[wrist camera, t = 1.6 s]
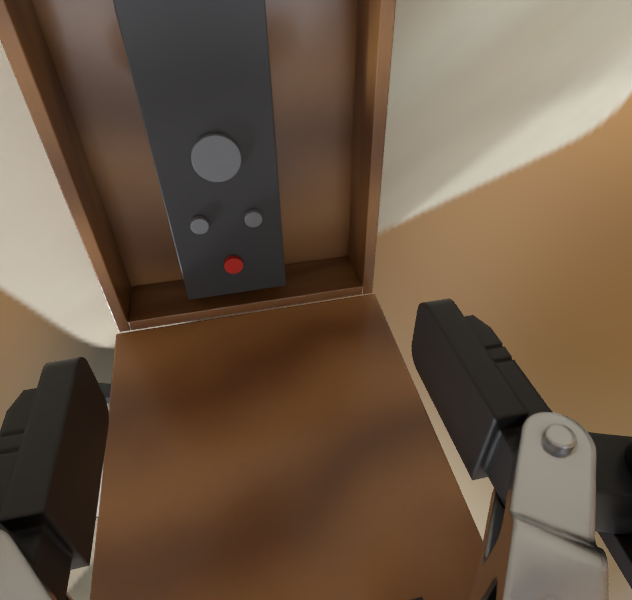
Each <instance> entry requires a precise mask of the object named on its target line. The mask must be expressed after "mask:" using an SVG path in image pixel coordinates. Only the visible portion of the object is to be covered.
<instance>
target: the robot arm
mask: <svg viewBox="0 0 632 600" xmlns="http://www.w3.org/2000/svg"><path fill="white" fill-rule="evenodd" d="M412 356H413V361H414V364H415V367H416V369H417V371H418V373H419V375H420V377H421V379H422V381H423V383H424V385H425V387H426V389H427V391H428V393H429V395H430V397H431V399H432V401H433V403H434V405H435V407H436V409H437V411H438V413H439V415H440V417H441V419H442V421H443V423H444V425H445V427H446V429H447V431H448V433H449V435H450V437H451V439H452V441H453V443H454V445H455V447H456V449H457V451H458V453H459V454H460V457H461V459H462V461H463V463H464V464H465V467H466V468H467V471H468V473H469V475H470V477H471V479H472V480H476V479H480V478H485V477H489V479H490V481H491V483H492V485H493V486H494V490H493V492H492V497H491V502H490V508H489V513H488V519H487V523H486V529H485V535H484V539H483V545H482V550H481V555H480V561H479V566H478V570H477V574H476V578H475V581H474V584H473V587H472V590H471V594H470V598H469V600H608V562H607V557H606V554H605V552H604V550H603V549H601V548H599V547H597V545H596V542H595V531H597V532H598V533H599V535H600V536H601V538H602V540H603V541H604V543H605V545H606V547H607V548H608V550H609V552H610V553H611V555H612V557H613V558H614V560H615V562H616V563H617V565H618V567H619V568H620V570H621V572H622V573H623V575H624V577H625V578H626V580H627V582H628V583H629V585H630V587H631V588H632V437H628V436H618V435H607V434H598V433H591V432H587V431H586V430H585V429H584V428H583V427H582V426H581V425H579V424H578V423H577V422H575V421H574V420H572V419H570V418H568V417H566V416H564V415H561V414H557V413H553V412H552V411H551V410H550V408H549V407H548V406H547V405H546V403H545V402H544V400H543V399H542V398H541V396H540V395H539V394H538V392H537V391H536V389H535V388H534V387H533V385H532V384H531V383H530V381H529V380H528V378H527V377H526V376H525V374H524V373H523V372H522V370H521V369H520V367H519V366H518V365H517V363H516V362H515V360H512V358H511V355H510V354H509V352H508V351H507V350H506V348H505V347H503V346H502V343H501V341H500V340H499V338H498V337H497V336H496V334H495V333H494V332H493V330H492V329H491V328H490V327H489V326H488V325H486V324H485V323H483V322H482V321H481V320H479V319H478V318H476V317H475V316H474V315H471V316H465V317H464V316H463V315H462V313H461V311H460V310H459V308H458V307H457V305H456V304H455V303H454V301H453V300H451V299H442V300H437V301H430V302H424V303H420V304H419V307H418V310H417V316H416V322H415V328H414V334H413V340H412ZM108 427H109V411H108V405H107V401H106V398H105V396H104V394H103V392H102V390H101V388H100V386H99V384H98V382H97V380H96V378H95V376H94V374H93V372H92V370H91V368H90V366H89V364H88V362H87V360H86V359H85V358H83V357H79V358H73V359H67V360H61V361H55V362H49V363H46V364H45V365H44V367H43V370H42V373H41V376H40V381H39V383H38V387H37V388H35V389H29V390H24V391H23V392H22V393H21V394H20V396H19V397H18V398H17V399H16V401H15V402H14V403H13V404H12V406H11V407H10V408H9V409H8V411H7V412H6V415H5V419H4V421H3V424H2V427H1V430H0V600H73V599H72V598H71V597H70V595H69V593H68V592H67V586H68V580H69V574H70V570H72V569H76V568H80V567H85V566H89V565H90V558H91V550H92V543H93V536H94V529H95V521H96V514H97V507H98V499H99V492H100V485H101V478H102V470H103V463H104V456H105V448H106V441H107V434H108ZM411 600H423V597H419V598H415V599H411Z"/></svg>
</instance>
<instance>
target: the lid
mask: <svg viewBox="0 0 632 600" xmlns="http://www.w3.org/2000/svg"><path fill="white" fill-rule="evenodd" d="M482 545H483V541H482V538H481V536H480V534H479V531H478V529H477V527H476V525H475V523H474V520H473V518H472V516H471V513H470V511H469V509H468V506H467V504H466V502H465V499H464V497H463V495H462V493H461V490H460V488H459V486H458V483H457V481H456V479H455V476H454V474H453V472H452V470H451V467H450V465H449V463H448V460H447V458H446V456H445V454H444V451H443V449H442V447H441V444H440V442H439V440H438V437H437V435H436V433H435V431H434V428H433V426H432V424H431V421H430V419H429V417H428V414H427V412H426V410H425V408H424V406H423V403H422V401H421V398H420V396H419V394H418V392H417V389H416V387H415V385H414V382H413V380H412V378H411V376H410V373H409V371H408V369H407V366H406V364H405V362H404V359H403V357H402V355H401V353H400V350H399V348H398V346H397V344H396V341H395V339H394V337H393V334H392V332H391V330H390V327H389V325H388V323H387V321H386V318H385V316H384V314H383V311H382V309H381V307H380V304H379V302H378V300H377V298H376V295H375V294H371V295H364V296H358V297H351V298H346V299H339V300H332V301H326V302H319V303H313V304H306V305H301V306H294V307H287V308H281V309H274V310H268V311H262V312H256V313H249V314H242V315H236V316H229V317H223V318H217V319H210V320H204V321H197V322H191V323H185V324H178V325H172V326H165V327H159V328H153V329H146V330H140V331H133V332H127V333H121V334H117V335H116V343H115V353H114V363H113V374H112V383H111V393H110V403H109V427H108V434H107V441H106V448H105V456H104V463H103V473H102V483H101V493H100V503H99V513H98V523H97V533H96V543H95V553H94V563H93V573H92V583H91V584H92V585H91V594H90V600H411V599H415V598H419V597H423V600H469V598H470V594H471V590H472V587H473V584H474V581H475V578H476V574H477V570H478V566H479V561H480V555H481V550H482Z"/></svg>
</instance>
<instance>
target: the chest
mask: <svg viewBox="0 0 632 600" xmlns="http://www.w3.org/2000/svg"><path fill="white" fill-rule="evenodd" d="M265 4H266V17H267V31H268V45H269V58H270V72H271V86H272V99H273V113H274V126H275V140H276V154H277V167H278V181H279V195H280V208H281V222H282V236H283V249H284V263H285V277H286V285H285V286H278V287H271V288H264V289H258V290H251V291H244V292H238V293H231V294H224V295H217V296H211V297H204V298H197V299H190V300H189V299H188V296H187V292H186V288H185V284H184V280H183V276H182V272H181V268H180V264H179V260H178V256H177V252H176V248H175V244H174V240H173V236H172V232H171V229H170V225H169V221H168V217H167V213H166V209H165V205H164V201H163V197H162V193H161V189H160V185H159V181H158V177H157V173H156V169H155V166H154V162H153V158H152V154H151V150H150V146H149V142H148V138H147V134H146V130H145V126H144V122H143V118H142V114H141V110H140V106H139V102H138V99H137V95H136V91H135V87H134V83H133V79H132V75H131V71H130V67H129V63H128V59H127V55H126V51H125V47H124V43H123V39H122V35H121V32H120V28H119V24H118V20H117V16H116V12H115V8H114V4H113V0H0V40H1V42H2V45H3V47H4V50H5V52H6V55H7V57H8V60H9V62H10V64H11V67H12V69H13V72H14V74H15V77H16V79H17V82H18V84H19V87H20V89H21V92H22V94H23V97H24V99H25V102H26V104H27V106H28V109H29V111H30V114H31V116H32V119H33V121H34V124H35V126H36V129H37V131H38V134H39V136H40V139H41V141H42V143H43V146H44V148H45V151H46V153H47V156H48V158H49V161H50V163H51V166H52V168H53V171H54V173H55V176H56V178H57V180H58V183H59V185H60V188H61V190H62V193H63V195H64V198H65V200H66V203H67V205H68V208H69V210H70V213H71V215H72V217H73V220H74V222H75V225H76V227H77V230H78V232H79V235H80V237H81V240H82V242H83V245H84V247H85V250H86V252H87V254H88V257H89V259H90V262H91V264H92V267H93V269H94V272H95V274H96V277H97V279H98V282H99V284H100V287H101V289H102V291H103V294H104V296H105V299H106V301H107V304H108V306H109V309H110V311H111V314H112V316H113V319H114V321H115V324H116V326H117V329H118V331H119V332H122V331H128V330H130V329H131V330H135V329H142V328H148V327H155V326H161V325H168V324H174V323H180V322H187V321H193V320H200V319H206V318H213V317H219V316H225V315H232V314H238V313H245V312H250V311H257V310H264V309H270V308H277V307H283V306H290V305H296V304H303V303H309V302H315V301H322V300H328V299H334V298H341V297H347V296H354V295H360V294H366V293H372V288H373V276H374V264H375V250H376V238H377V227H378V215H379V202H380V190H381V178H382V165H383V153H384V141H385V129H386V116H387V104H388V92H389V79H390V67H391V55H392V42H393V30H394V18H395V5H396V0H265Z"/></svg>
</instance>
